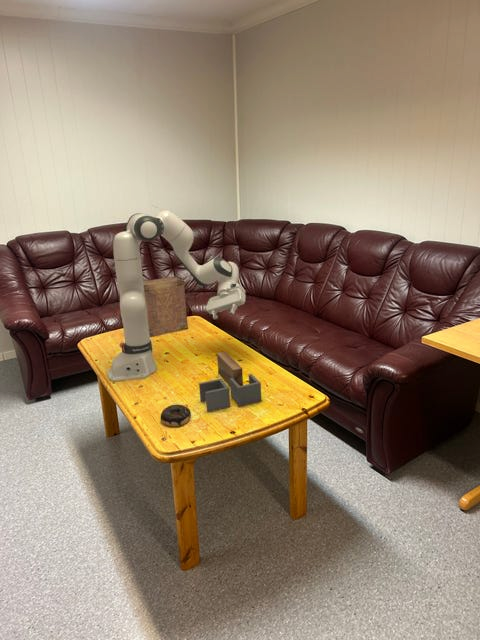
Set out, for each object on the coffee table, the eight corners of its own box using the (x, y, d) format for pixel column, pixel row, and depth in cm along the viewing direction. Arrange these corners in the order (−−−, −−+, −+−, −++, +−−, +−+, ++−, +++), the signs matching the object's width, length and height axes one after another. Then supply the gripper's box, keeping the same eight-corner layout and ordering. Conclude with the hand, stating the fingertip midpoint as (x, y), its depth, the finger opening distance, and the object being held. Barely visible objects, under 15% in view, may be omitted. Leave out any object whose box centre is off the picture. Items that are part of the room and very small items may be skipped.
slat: (234, 392, 187) (233, 370, 184) (218, 373, 205) (217, 353, 201) (243, 390, 188) (242, 368, 185) (226, 371, 206) (225, 351, 203)
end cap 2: (239, 406, 175) (238, 387, 172) (230, 396, 183) (229, 378, 181) (261, 401, 178) (260, 382, 176) (252, 391, 186) (251, 373, 184)
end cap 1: (230, 406, 175) (229, 388, 173) (207, 412, 172) (206, 393, 170) (222, 396, 184) (220, 378, 181) (200, 401, 181) (198, 383, 178)
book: (146, 338, 252) (139, 285, 242) (140, 333, 260) (134, 282, 250) (188, 329, 264) (183, 278, 254) (182, 324, 271) (177, 275, 262)
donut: (158, 428, 164) (157, 418, 162) (165, 411, 175) (164, 402, 173) (188, 427, 163) (187, 417, 162) (193, 411, 174) (192, 401, 173)
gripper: (205, 294, 217) (201, 318, 210) (241, 282, 207) (237, 307, 199) (213, 301, 221) (209, 324, 214) (248, 290, 211) (245, 314, 203)
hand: (223, 316), depth 206 cm, fingers open, 8 cm apart
